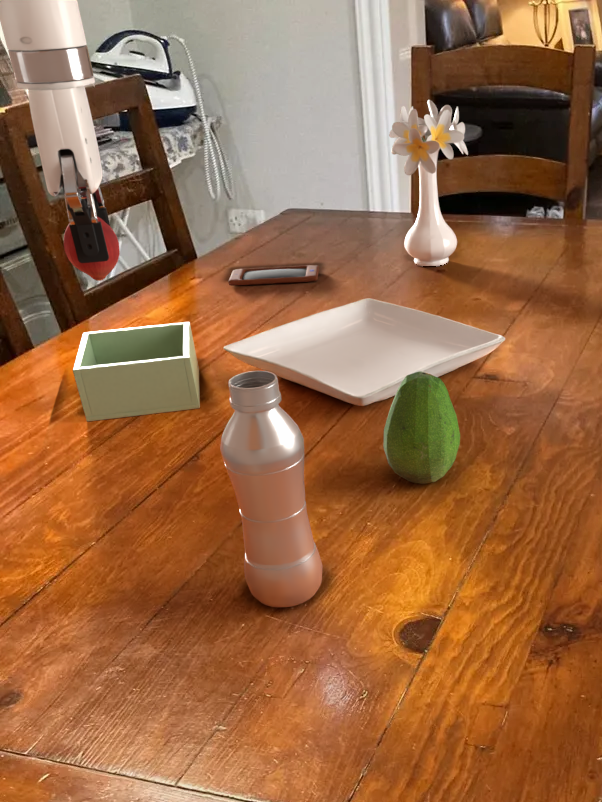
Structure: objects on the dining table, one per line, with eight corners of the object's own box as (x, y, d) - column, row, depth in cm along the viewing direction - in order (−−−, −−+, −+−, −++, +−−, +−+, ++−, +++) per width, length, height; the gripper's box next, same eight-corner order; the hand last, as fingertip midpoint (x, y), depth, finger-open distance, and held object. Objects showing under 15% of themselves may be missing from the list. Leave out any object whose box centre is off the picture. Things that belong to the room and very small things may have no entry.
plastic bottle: (339, 599, 82) (312, 381, 70) (268, 626, 79) (228, 404, 67) (305, 566, 86) (275, 357, 74) (237, 591, 83) (194, 377, 71)
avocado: (454, 499, 95) (450, 388, 89) (379, 494, 97) (370, 385, 90) (466, 463, 102) (464, 357, 95) (396, 460, 103) (389, 354, 96)
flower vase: (395, 280, 158) (385, 115, 143) (398, 250, 173) (388, 98, 158) (472, 277, 158) (469, 112, 143) (468, 247, 173) (465, 95, 158)
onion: (84, 273, 108) (65, 200, 104) (132, 272, 108) (116, 198, 104) (65, 288, 104) (45, 212, 99) (116, 287, 103) (99, 211, 99)
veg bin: (86, 421, 114) (72, 370, 110) (95, 380, 125) (82, 332, 121) (199, 408, 116) (189, 357, 113) (199, 369, 127) (189, 321, 123)
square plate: (362, 426, 111) (359, 395, 108) (223, 372, 126) (218, 344, 124) (508, 359, 127) (508, 331, 124) (369, 319, 142) (367, 293, 140)
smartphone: (316, 276, 158) (227, 280, 157) (317, 281, 158) (228, 286, 158) (318, 264, 163) (232, 268, 163) (319, 269, 164) (233, 274, 163)
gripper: (26, 62, 100) (71, 237, 111) (-2, 80, 86) (52, 278, 97) (99, 58, 101) (136, 232, 112) (82, 76, 88) (126, 271, 98)
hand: (96, 251), depth 104 cm, fingers closed on onion, 5 cm apart
